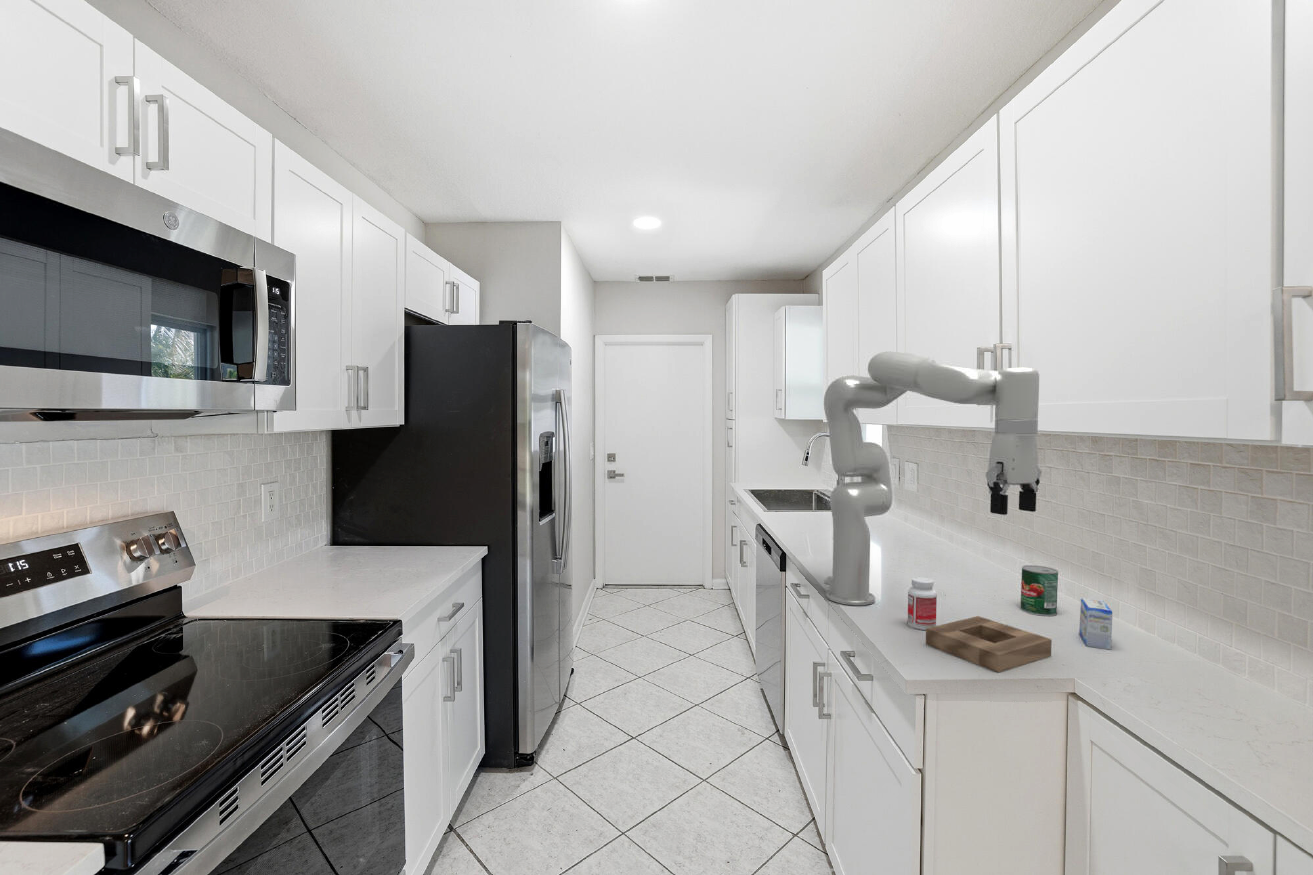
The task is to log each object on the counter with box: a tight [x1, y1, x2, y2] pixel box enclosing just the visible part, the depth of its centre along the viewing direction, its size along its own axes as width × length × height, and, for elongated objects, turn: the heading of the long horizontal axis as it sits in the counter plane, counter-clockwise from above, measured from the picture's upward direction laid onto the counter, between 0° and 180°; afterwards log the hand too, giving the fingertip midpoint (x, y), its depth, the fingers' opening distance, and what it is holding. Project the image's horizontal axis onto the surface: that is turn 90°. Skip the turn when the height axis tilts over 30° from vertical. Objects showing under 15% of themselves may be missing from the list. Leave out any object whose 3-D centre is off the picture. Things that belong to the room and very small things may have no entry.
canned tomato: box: [1019, 564, 1059, 617], centre depth 151 cm, size 8×8×11 cm
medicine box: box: [1078, 597, 1113, 650], centre depth 130 cm, size 8×4×9 cm, turn 154°
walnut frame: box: [925, 615, 1053, 674], centre depth 125 cm, size 16×18×4 cm
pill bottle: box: [907, 577, 938, 631], centre depth 139 cm, size 6×6×11 cm
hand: (1013, 512), depth 121 cm, fingers open, 9 cm apart
